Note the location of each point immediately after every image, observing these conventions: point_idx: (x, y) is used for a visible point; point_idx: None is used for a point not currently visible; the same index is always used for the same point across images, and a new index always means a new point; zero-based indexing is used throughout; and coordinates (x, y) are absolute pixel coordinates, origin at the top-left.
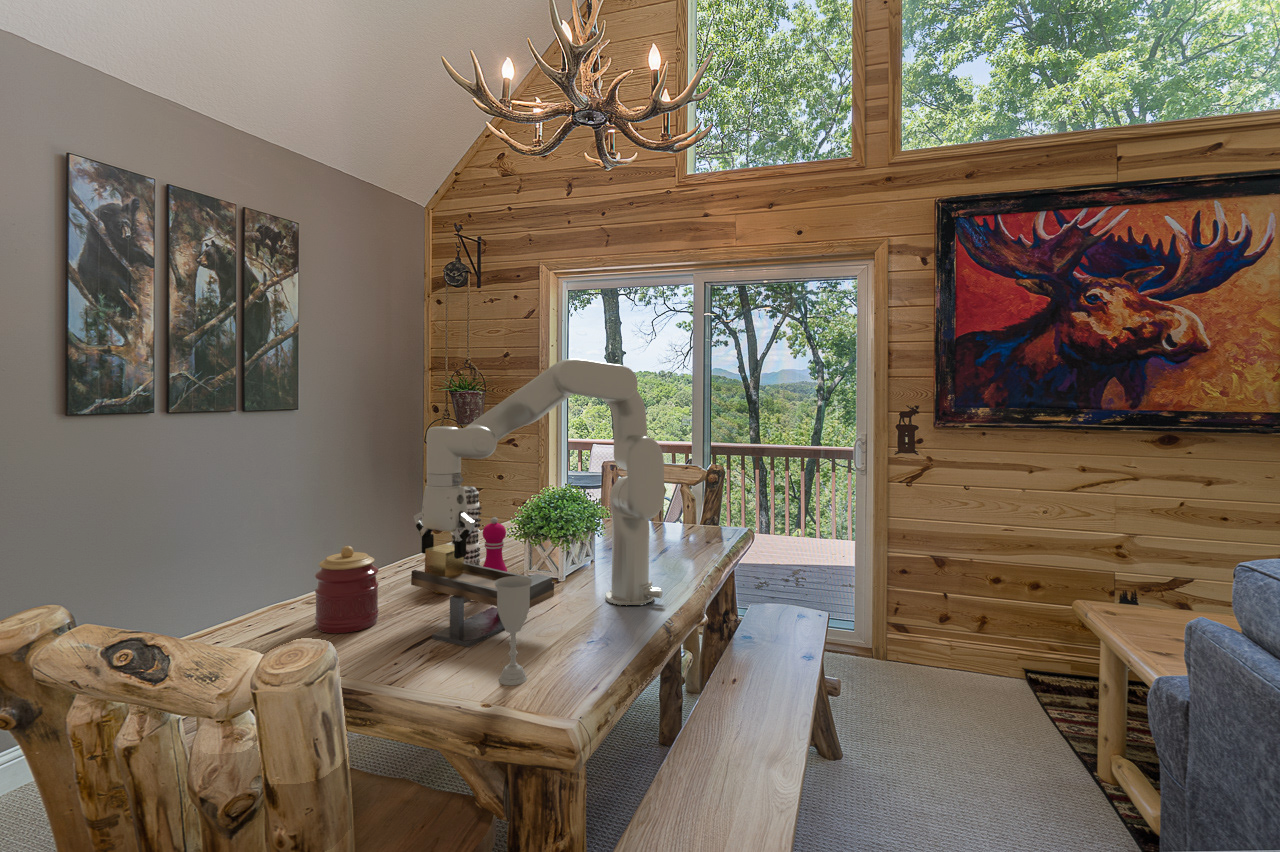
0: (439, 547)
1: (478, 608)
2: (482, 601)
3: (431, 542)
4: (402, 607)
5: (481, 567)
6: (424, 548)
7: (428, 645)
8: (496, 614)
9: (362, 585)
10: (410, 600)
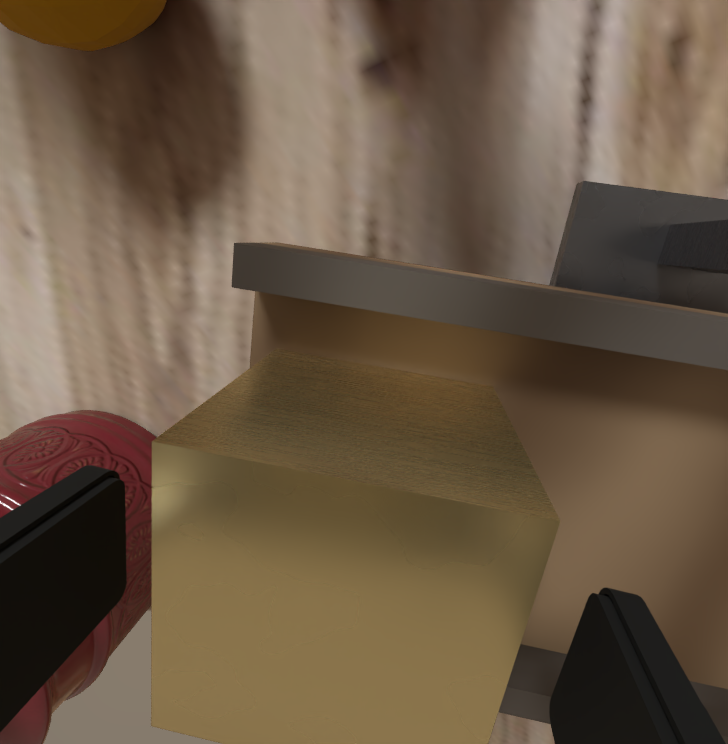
0: (234, 625)
1: (478, 167)
2: None
3: (33, 577)
4: (140, 285)
5: (699, 357)
6: (86, 636)
7: None
8: (659, 287)
9: (74, 674)
10: (98, 184)
